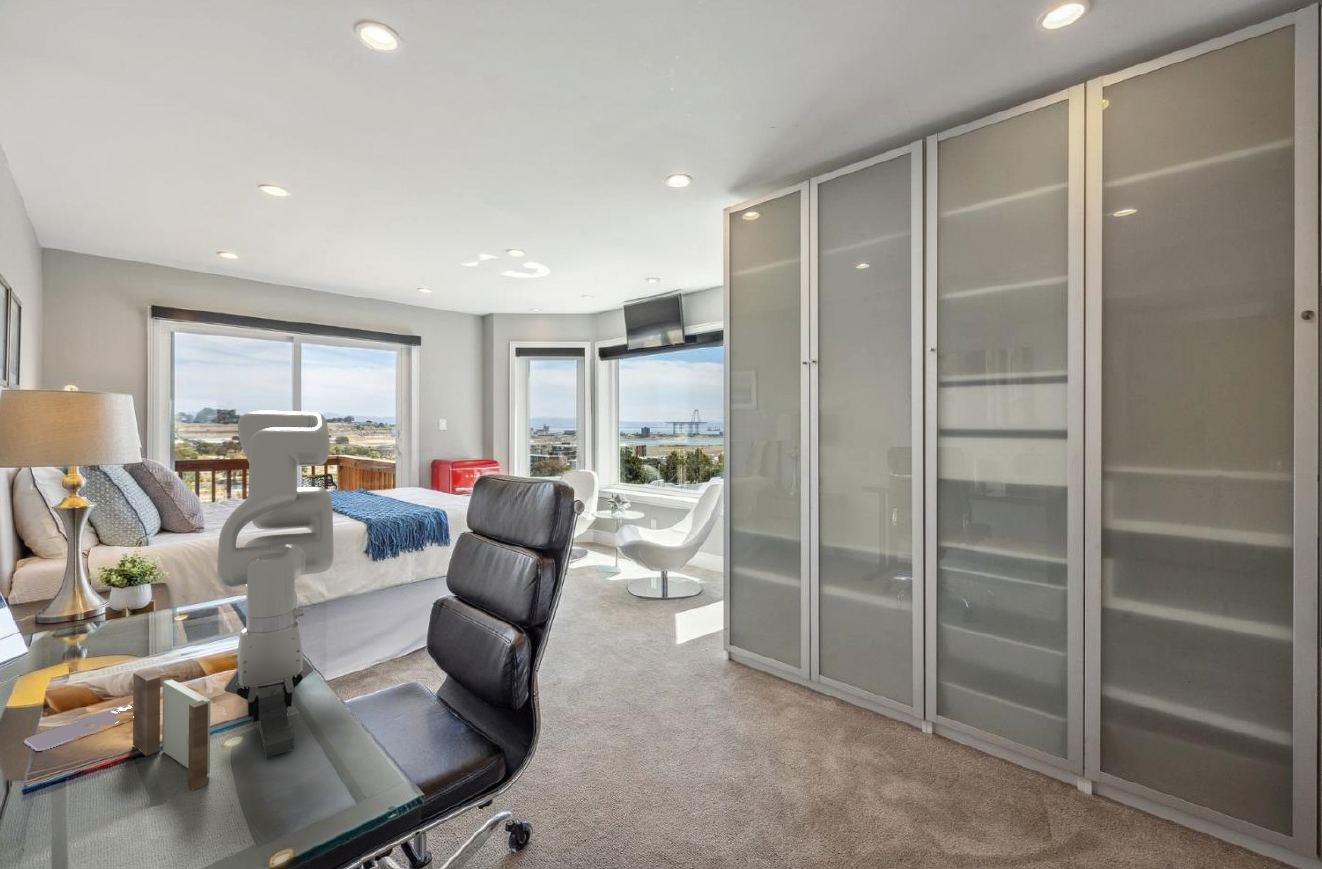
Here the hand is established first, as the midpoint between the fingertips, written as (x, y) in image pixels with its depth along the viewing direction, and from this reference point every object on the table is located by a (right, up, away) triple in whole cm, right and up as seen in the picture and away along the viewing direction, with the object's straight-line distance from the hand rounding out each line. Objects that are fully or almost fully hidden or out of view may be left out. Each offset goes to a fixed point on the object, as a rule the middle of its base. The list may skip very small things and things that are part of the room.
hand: (270, 713), depth 109 cm
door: (-6, -2, -13) cm, 15 cm away
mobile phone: (-32, -2, -3) cm, 32 cm away
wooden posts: (-8, -2, -13) cm, 16 cm away
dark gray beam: (+4, -1, -5) cm, 6 cm away
